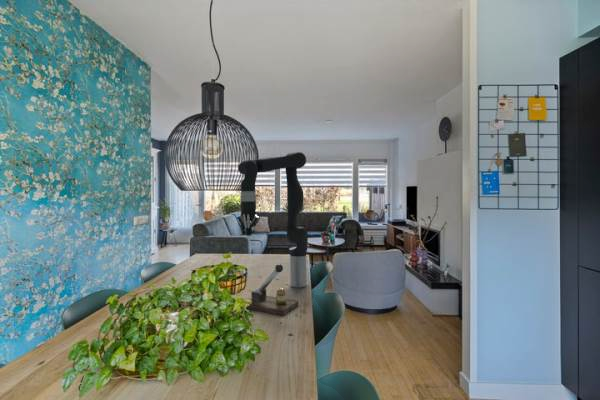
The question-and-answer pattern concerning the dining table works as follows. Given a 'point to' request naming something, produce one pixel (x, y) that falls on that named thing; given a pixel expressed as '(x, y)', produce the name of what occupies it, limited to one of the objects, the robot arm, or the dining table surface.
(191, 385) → the dining table surface
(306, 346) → the dining table surface
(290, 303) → the press base
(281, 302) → the tan rounded cylinder
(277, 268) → the lever
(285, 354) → the dining table surface
